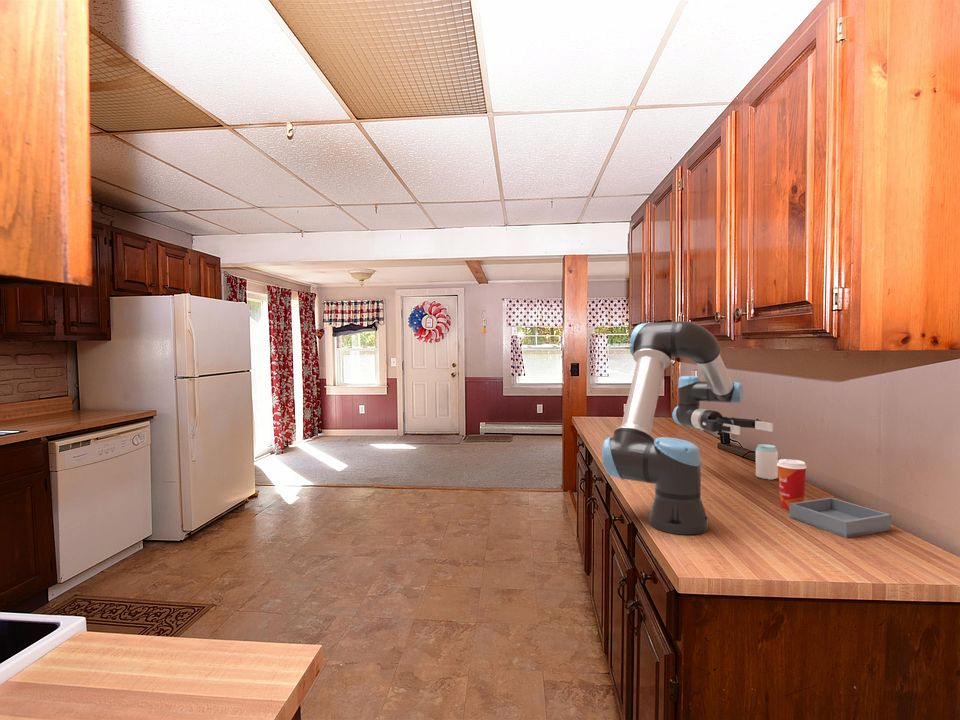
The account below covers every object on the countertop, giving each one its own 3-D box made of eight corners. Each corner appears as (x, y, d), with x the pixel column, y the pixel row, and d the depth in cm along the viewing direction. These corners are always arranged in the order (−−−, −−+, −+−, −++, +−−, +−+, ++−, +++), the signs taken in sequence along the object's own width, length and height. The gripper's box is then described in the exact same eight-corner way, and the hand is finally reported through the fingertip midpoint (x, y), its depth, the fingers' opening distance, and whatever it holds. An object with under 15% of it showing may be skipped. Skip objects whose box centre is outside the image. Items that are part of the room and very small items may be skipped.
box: (846, 538, 124) (846, 522, 124) (789, 517, 139) (789, 503, 139) (891, 529, 128) (891, 514, 128) (831, 510, 144) (831, 497, 144)
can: (771, 481, 175) (770, 448, 175) (751, 477, 181) (751, 445, 181) (782, 478, 179) (781, 446, 178) (762, 474, 185) (762, 443, 184)
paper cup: (776, 502, 152) (776, 457, 152) (806, 505, 148) (806, 460, 148) (777, 509, 146) (777, 463, 145) (808, 513, 142) (808, 465, 141)
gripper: (735, 428, 183) (785, 437, 162) (679, 432, 175) (725, 443, 155) (734, 407, 183) (785, 415, 162) (679, 412, 175) (725, 420, 155)
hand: (756, 429), depth 159 cm, fingers open, 13 cm apart
